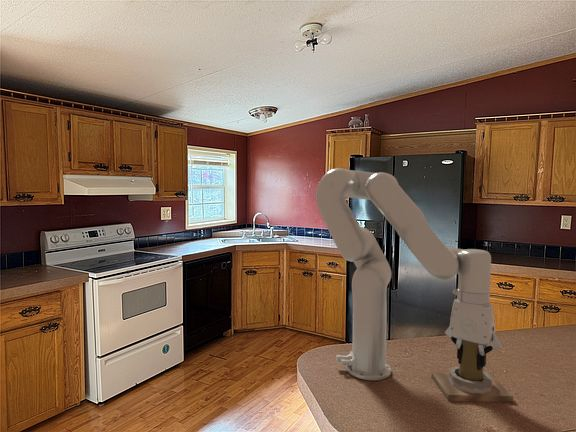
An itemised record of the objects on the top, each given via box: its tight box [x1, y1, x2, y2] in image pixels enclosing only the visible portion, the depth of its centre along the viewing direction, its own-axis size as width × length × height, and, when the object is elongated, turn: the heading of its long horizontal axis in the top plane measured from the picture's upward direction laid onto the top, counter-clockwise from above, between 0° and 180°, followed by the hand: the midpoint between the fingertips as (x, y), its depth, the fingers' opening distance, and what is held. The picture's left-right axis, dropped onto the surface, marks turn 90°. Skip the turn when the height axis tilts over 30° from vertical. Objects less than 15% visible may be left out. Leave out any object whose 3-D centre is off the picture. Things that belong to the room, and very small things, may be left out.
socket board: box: [431, 365, 514, 403], centre depth 103 cm, size 16×12×4 cm
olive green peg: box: [458, 340, 484, 380], centre depth 103 cm, size 6×6×11 cm
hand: (471, 364), depth 103 cm, fingers closed on olive green peg, 4 cm apart
